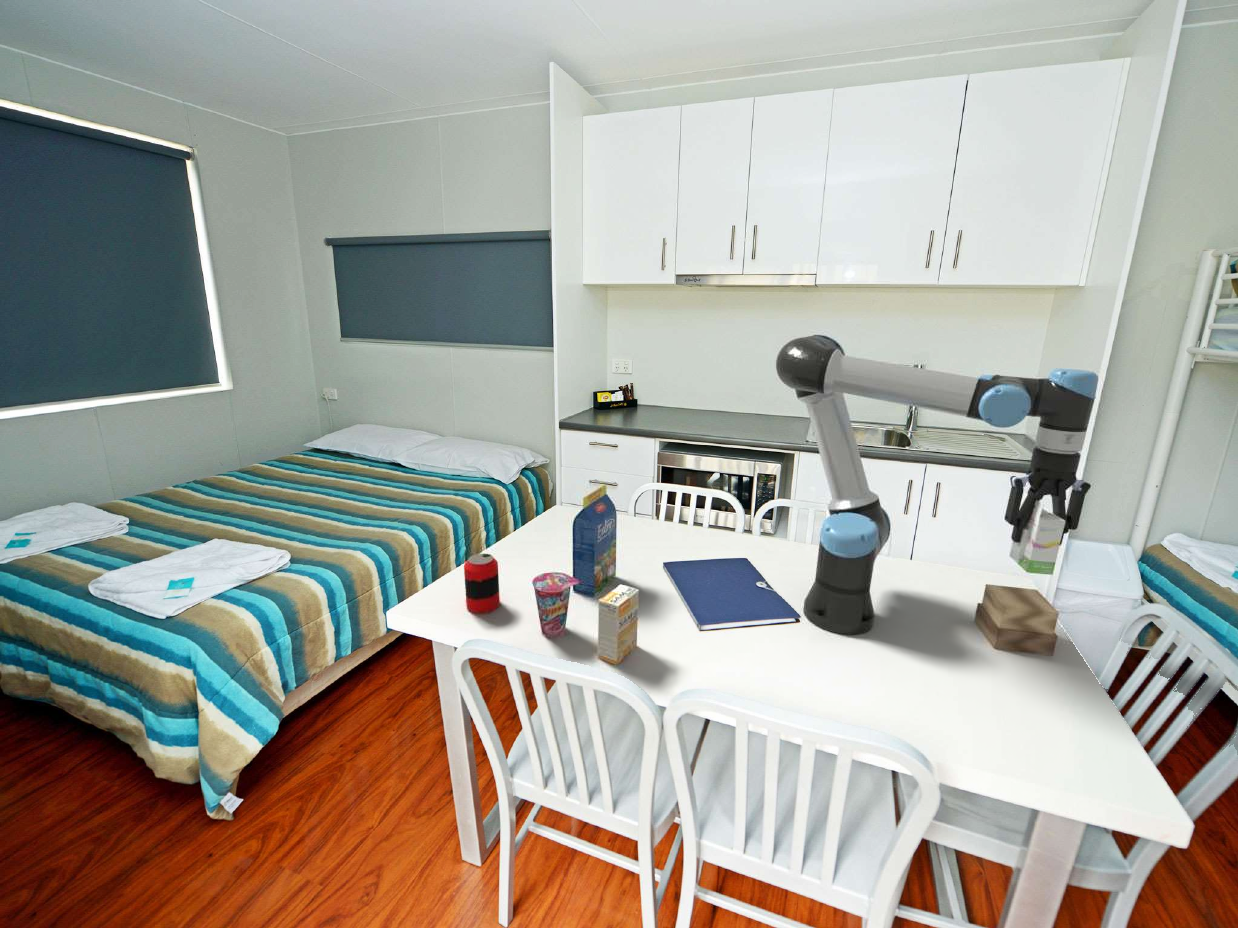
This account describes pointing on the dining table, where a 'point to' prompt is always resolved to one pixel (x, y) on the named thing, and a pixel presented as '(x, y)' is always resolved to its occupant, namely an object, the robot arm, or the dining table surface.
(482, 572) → the soda can
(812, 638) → the dining table surface
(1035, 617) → the top slab
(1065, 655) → the dining table surface
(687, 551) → the dining table surface
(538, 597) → the cup
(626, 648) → the supplement box
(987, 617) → the base slab
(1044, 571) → the ink box
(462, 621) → the dining table surface
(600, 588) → the blue food package
